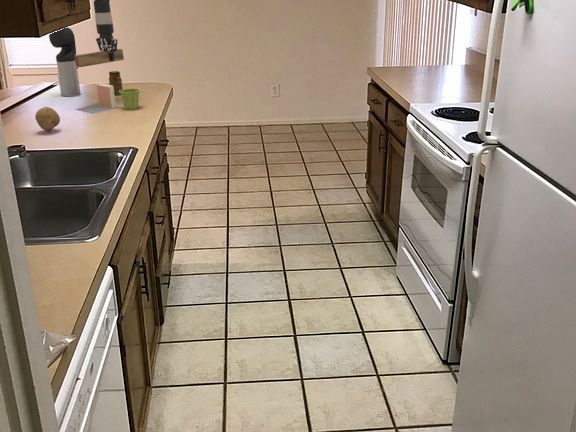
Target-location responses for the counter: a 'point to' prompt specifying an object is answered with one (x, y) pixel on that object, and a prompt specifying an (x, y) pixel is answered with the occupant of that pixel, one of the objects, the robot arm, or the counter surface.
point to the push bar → (97, 58)
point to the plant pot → (130, 98)
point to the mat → (94, 109)
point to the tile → (106, 95)
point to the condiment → (115, 82)
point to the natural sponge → (47, 118)
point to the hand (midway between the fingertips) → (109, 60)
